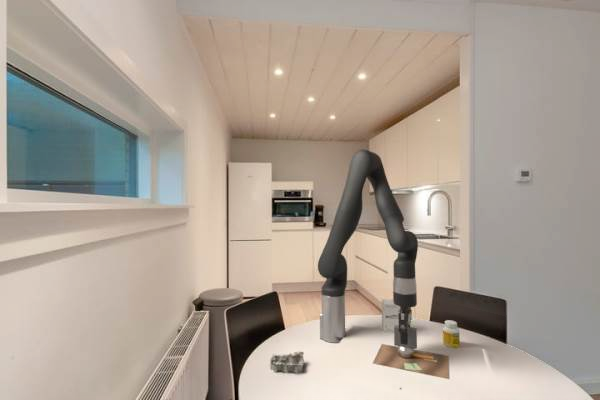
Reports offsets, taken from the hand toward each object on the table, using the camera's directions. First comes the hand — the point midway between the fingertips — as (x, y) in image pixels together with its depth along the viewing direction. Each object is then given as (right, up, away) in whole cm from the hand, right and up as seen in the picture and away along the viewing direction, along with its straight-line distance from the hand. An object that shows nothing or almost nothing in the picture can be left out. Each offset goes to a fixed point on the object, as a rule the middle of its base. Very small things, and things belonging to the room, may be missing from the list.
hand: (405, 339), depth 103 cm
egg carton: (-40, -7, -5) cm, 41 cm away
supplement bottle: (+19, -8, +8) cm, 22 cm away
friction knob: (+2, -5, -1) cm, 6 cm away
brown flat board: (+1, -7, -3) cm, 8 cm away
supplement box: (+3, -8, +24) cm, 25 cm away
